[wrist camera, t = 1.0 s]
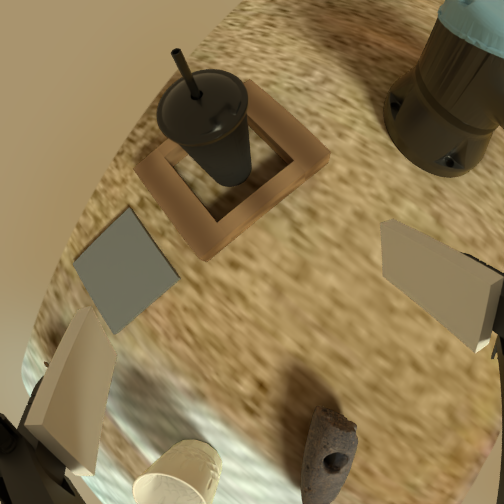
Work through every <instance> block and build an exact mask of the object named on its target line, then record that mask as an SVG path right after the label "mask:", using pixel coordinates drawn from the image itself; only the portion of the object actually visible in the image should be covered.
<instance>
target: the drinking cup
mask: <svg viewBox="0 0 504 504" xmlns="http://www.w3.org/2000/svg"><path fill="white" fill-rule="evenodd" d="M171 55H172V57H173V59H174V61H175V63H176V65H177V67H178V69H179V71H180V73H181V75H182V78H180V79H179V80H177V81H176V82H175V83H173V84H172V85H171V86H170V87H169V88H168V89H167V90H166V92H165V93H164V94H163V96H162V98H161V100H160V102H159V104H158V108H157V122H158V126H159V128H160V130H161V131H162V133H163V134H164V135H165V136H166V137H167V138H168V139H170V140H171V141H173V142H175V143H177V144H179V145H180V146H181V147H182V148H183V149H184V150H185V151H186V152H187V153H188V154H189V155H190V156H191V157H192V158H193V159H194V160H195V161H196V162H197V163H198V164H199V165H200V166H201V167H202V168H203V169H204V170H205V171H206V172H207V173H208V174H209V175H210V176H211V177H212V178H213V179H214V180H215V181H216V182H217V183H219V184H220V185H223V186H227V187H233V186H237V185H239V184H241V183H243V182H244V181H245V180H246V179H247V178H248V176H249V175H250V172H251V155H250V143H249V132H248V121H247V110H248V105H249V97H248V92H247V89H246V87H245V85H244V84H243V82H242V81H241V80H240V79H239V78H238V77H236V76H235V75H233V74H231V73H229V72H226V71H223V70H217V69H206V70H200V71H196V72H193V73H191V71H190V69H189V67H188V64H187V62H186V60H185V58H184V56H183V54H182V51H181V49H178V48H176V49H174V50H172V52H171Z"/></svg>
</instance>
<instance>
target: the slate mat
mask: <svg viewBox="0 0 504 504" xmlns="http://www.w3.org/2000/svg"><path fill="white" fill-rule="evenodd" d="M73 266H74V267H75V269H76V271H77V273H78V275H79V277H80V279H81V281H82V282H83V284H84V286H85V288H86V289H87V291H88V293H89V295H90V296H91V298H92V300H93V302H94V303H95V305H96V307H97V308H98V310H99V312H100V313H101V315H102V317H103V318H104V320H105V321H106V323H107V325H108V326H109V328H110V329H111V331H112V333H113V334H117V333H118V332H120V331H121V330H122V329H123V328H124V327H125V326H126V325H128V324H129V323H130V322H131V321H132V320H133V319H134V318H136V317H137V316H138V315H139V314H140V313H141V312H142V311H144V310H145V309H146V308H147V307H148V306H149V305H151V304H152V303H153V302H154V301H155V300H156V299H157V298H159V297H160V296H161V295H162V294H163V293H164V292H166V291H167V290H168V289H169V288H170V287H171V286H173V285H174V284H175V283H176V282H177V281H178V280H180V279H181V278H180V277H179V275H178V274H177V273H176V271H175V270H174V268H173V267H172V266H171V264H170V263H169V262H168V260H167V259H166V257H165V256H164V255H163V253H162V252H161V250H160V249H159V248H158V246H157V245H156V243H155V242H154V240H153V239H152V237H151V236H150V235H149V233H148V232H147V230H146V229H145V227H144V226H143V224H142V223H141V221H140V220H139V218H138V217H137V216H136V214H135V213H134V211H133V210H132V209H131V208H128V209H127V210H126V211H125V212H124V213H123V214H122V215H121V216H120V217H119V218H118V219H117V220H115V221H114V222H113V223H112V224H111V225H110V226H109V227H108V228H107V229H106V230H105V231H104V232H103V233H102V234H101V235H100V236H99V237H98V238H97V239H96V240H95V241H94V242H93V243H92V244H91V245H90V246H89V247H88V248H87V249H86V250H85V251H84V252H83V253H82V255H81V256H80V257H79V258H78V259H77V260H76V261H75V262H74V263H73Z"/></svg>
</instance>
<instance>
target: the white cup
mask: <svg viewBox="0 0 504 504" xmlns="http://www.w3.org/2000/svg"><path fill="white" fill-rule="evenodd" d="M221 472H222V460H221V458H220V456H219V454H218V453H217V451H216V450H215V449H213V448H212V447H211V446H210V445H208V444H207V443H204V442H201V441H198V440H182V441H180V442H178V443H176V444H174V445H173V446H172V447H171V448H170V449H169V450H168V451H167V452H165V453H164V454H163V455H162V456H161V457H160V458H159V459H157V460H156V461H155V462H154V463H153V464H152V465H151V466H150V467H149V468H148V469H147V470H146V471H145V472H144V473H142V474H141V475H140V476H139V477H138V478H137V479H136V480H135V482H134V484H133V488H132V491H133V496H134V499H135V501H136V503H137V504H212V502H213V499H214V496H215V493H216V490H217V486H218V483H219V478H220V475H221Z"/></svg>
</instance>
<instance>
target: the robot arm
mask: <svg viewBox="0 0 504 504" xmlns="http://www.w3.org/2000/svg"><path fill="white" fill-rule="evenodd" d="M384 120H385V124H386V127H387V130H388V132H389V135H390V137H391V138H392V140H393V142H394V143H395V145H396V146H397V147H398V149H399V150H400V151H401V152H402V153H403V154H404V155H405V156H406V157H407V158H408V159H409V160H410V161H411V162H412V163H414V164H415V165H417V166H418V167H420V168H421V169H423V170H425V171H427V172H429V173H431V174H434V175H437V176H441V177H450V178H451V177H458V176H462V175H464V174H466V173H467V172H469V171H470V170H471V169H473V168H474V167H475V166H476V165H477V164H478V163H479V162H480V161H481V159H482V158H483V156H484V153H485V151H486V148H487V146H488V143H489V141H490V138H491V136H492V133H493V131H494V130H495V129H496V128H497V127H498V126H501V127H502V128H503V129H504V0H445V2H444V4H443V5H441V6H440V8H439V10H438V18H437V20H436V23H435V25H434V27H433V30H432V32H431V34H430V37H429V39H428V41H427V44H426V46H425V48H424V50H423V52H422V54H421V57H420V59H419V61H418V63H417V65H416V66H415V67H414V68H412V69H411V70H410V71H409V72H407V73H406V74H405V75H403V76H402V77H401V78H400V79H398V80H397V81H396V82H395V83H394V84H393V86H392V87H391V89H390V91H389V93H388V95H387V97H386V100H385V103H384ZM380 231H381V247H382V270H383V277H384V278H386V279H387V280H388V281H390V282H391V283H392V284H393V285H395V286H396V287H397V288H398V289H400V290H401V291H402V292H403V293H405V294H406V295H407V296H408V297H410V298H411V299H412V300H413V301H414V302H416V303H417V304H418V305H419V306H421V307H422V308H423V309H424V310H425V311H427V312H428V313H429V314H430V315H431V316H433V317H434V318H435V319H436V320H437V321H439V322H440V323H441V324H442V325H443V326H444V327H446V328H447V329H448V330H449V331H450V332H451V333H453V334H454V335H455V336H456V337H457V338H458V339H459V340H461V341H462V342H463V343H464V344H465V345H466V346H467V347H469V348H470V349H471V350H472V351H473V352H474V353H476V352H478V351H479V350H481V349H482V348H483V347H485V346H486V345H488V344H489V340H490V337H491V333H492V330H493V331H494V332H495V333H497V334H498V336H497V339H496V343H495V346H494V349H493V352H492V356H491V359H494V357H495V354H496V353H497V354H498V358H497V359H498V362H499V371H500V382H501V397H502V456H501V471H500V481H499V489H498V497H497V504H504V273H502V272H500V271H499V270H497V269H495V268H493V267H492V266H490V265H486V263H484V262H483V261H479V259H477V258H475V257H473V256H472V255H470V254H466V253H462V252H459V251H457V250H455V249H453V248H451V247H449V246H447V245H445V244H443V243H442V242H440V241H438V240H436V239H434V238H432V237H430V236H428V235H426V234H424V233H422V232H420V231H418V230H416V229H414V228H411V227H409V226H407V225H405V224H403V223H401V222H399V221H397V220H395V219H391V220H388V221H384V222H381V223H380ZM116 359H117V353H116V351H115V350H114V348H113V346H112V344H111V343H110V341H109V339H108V337H107V335H106V333H105V331H104V330H103V328H102V326H101V324H100V322H99V320H98V318H97V316H96V314H95V312H94V310H93V308H92V306H89V307H85V308H81V309H78V310H77V311H76V313H75V315H74V317H73V318H72V320H71V322H70V324H69V326H68V328H67V330H66V332H65V334H64V336H63V338H62V340H61V342H60V344H59V346H58V348H57V350H56V352H55V354H54V356H53V358H52V360H51V362H50V364H49V367H48V369H47V371H46V373H45V375H44V376H43V377H42V378H41V379H40V380H39V381H38V383H37V384H36V385H35V387H34V389H33V392H32V394H31V397H30V399H29V401H28V405H27V406H26V408H25V411H24V413H23V415H22V418H21V420H20V423H19V426H18V428H17V429H16V428H15V427H14V426H13V425H12V423H11V422H10V421H9V420H8V419H7V418H6V417H5V416H4V414H1V413H0V501H1V504H86V503H85V502H84V500H83V499H82V497H81V496H80V494H79V493H78V492H77V490H76V488H75V487H74V486H73V484H72V482H71V481H70V480H69V478H68V477H66V476H65V475H64V474H65V469H66V467H67V468H68V469H69V470H70V471H71V472H73V473H74V474H75V475H76V476H94V475H95V468H96V461H97V454H98V447H99V441H100V435H101V429H102V424H103V419H104V413H105V408H106V403H107V398H108V394H109V389H110V384H111V380H112V375H113V371H114V367H115V363H116Z"/></svg>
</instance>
